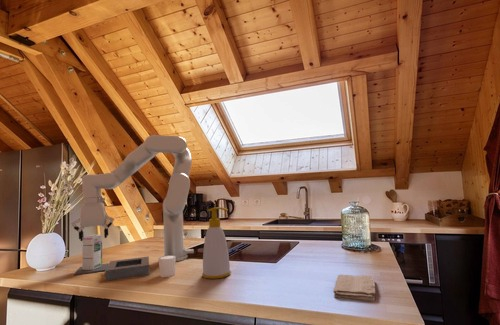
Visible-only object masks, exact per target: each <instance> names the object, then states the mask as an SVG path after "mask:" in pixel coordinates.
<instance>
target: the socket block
mask: <svg viewBox="0 0 500 325" xmlns="http://www.w3.org/2000/svg"><path fill="white" fill-rule="evenodd" d="M104 272H105V282H109V281H117V280H122V279H130V278H137V277H144V276H149V275H150V257H149V256H140V257H134V258H133V257H132V258H127V259H124V258H123V259H119V260H118V259H117V260H111V261H109V265H108V267H107V269H106V271H104Z"/></svg>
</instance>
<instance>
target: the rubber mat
mask: <svg viewBox="0 0 500 325" xmlns="http://www.w3.org/2000/svg"><path fill="white" fill-rule="evenodd" d="M109 263H110V262H109ZM109 263H102V267H99V268H96V269H94V270H83V269H82V266H80V267H78V269H77V270H76V271H75V272H74V273H73V276H79V275H80V276H81V275H87V274H93V273H95V274H96V273H101V272H105V271H106V269H107V267H108V265H109Z"/></svg>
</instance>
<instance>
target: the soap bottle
mask: <svg viewBox="0 0 500 325" xmlns="http://www.w3.org/2000/svg"><path fill="white" fill-rule="evenodd" d="M218 210H222V211H224V212H228V211H229V209H228V208H226V207H221V206H218V207H216V206H215V207H211V208H209V209H207V210H206V212H211V218H210V219H209V220H208V222H209V224H208V225H209V226H208V228H207V230H206V233H205V236H204V237H205V238H204V242H203V243H204V244H203V250H202V251H203V252H202V254H203V255H202V273H201V276H202V277H203V278H205V279H210V280H218V279H223V278H226V277H229V276H230V275H231V273H232V271H231V270H230V267H231V266H230V265H231V264H230V256H229V248H228V243H227V239H226V238H227V237H226V235H225V232H224V230H223V228H222V226H221V218H218V214H217V213H218V212H217V211H218Z"/></svg>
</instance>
